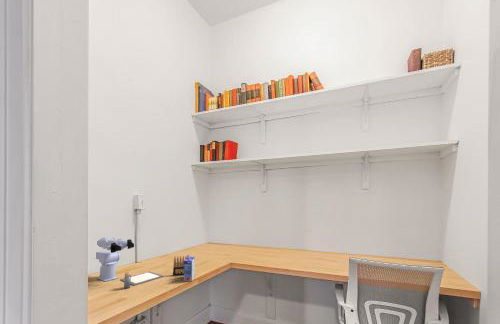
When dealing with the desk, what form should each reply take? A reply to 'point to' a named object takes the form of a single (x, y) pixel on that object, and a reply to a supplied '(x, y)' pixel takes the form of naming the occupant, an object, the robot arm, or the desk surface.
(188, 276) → the blue drink carton
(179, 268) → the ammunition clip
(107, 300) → the desk surface
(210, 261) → the desk surface
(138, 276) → the writing mat
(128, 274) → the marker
